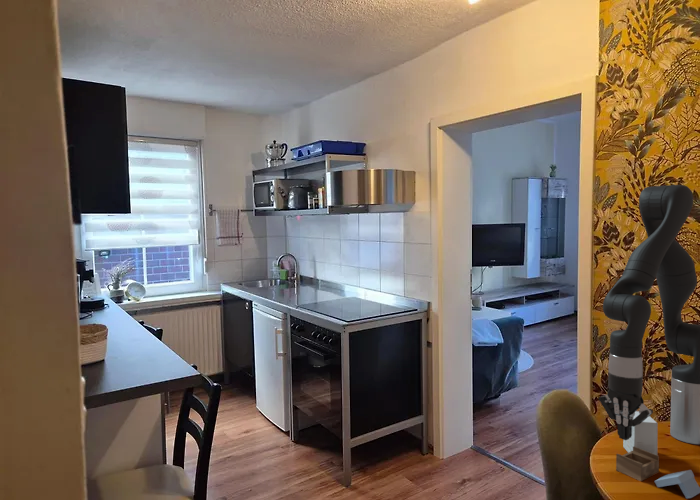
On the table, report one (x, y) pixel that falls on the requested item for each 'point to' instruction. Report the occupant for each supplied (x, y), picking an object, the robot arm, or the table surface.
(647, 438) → the small box
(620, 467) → the case
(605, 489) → the table surface
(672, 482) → the lid
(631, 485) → the table surface
